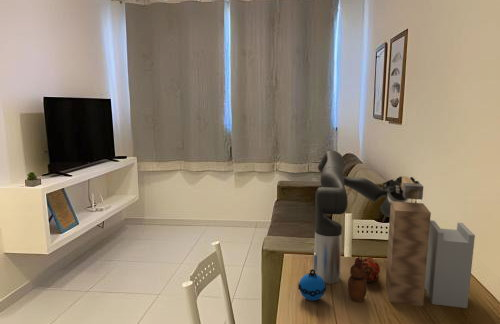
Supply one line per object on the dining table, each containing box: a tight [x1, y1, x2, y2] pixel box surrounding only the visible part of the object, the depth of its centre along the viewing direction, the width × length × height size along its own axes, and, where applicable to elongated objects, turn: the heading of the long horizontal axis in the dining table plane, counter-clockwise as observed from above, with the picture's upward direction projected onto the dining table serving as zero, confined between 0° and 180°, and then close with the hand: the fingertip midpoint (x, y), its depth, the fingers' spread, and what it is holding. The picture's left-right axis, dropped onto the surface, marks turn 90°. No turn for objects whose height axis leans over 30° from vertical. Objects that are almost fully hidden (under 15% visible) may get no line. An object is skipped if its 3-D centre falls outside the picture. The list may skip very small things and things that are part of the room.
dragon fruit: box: [362, 256, 381, 283], centre depth 132 cm, size 8×8×12 cm
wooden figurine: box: [347, 255, 367, 302], centre depth 118 cm, size 7×6×15 cm
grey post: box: [424, 220, 476, 309], centre depth 119 cm, size 10×12×24 cm
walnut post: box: [384, 201, 432, 307], centre depth 119 cm, size 10×11×30 cm
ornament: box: [297, 268, 327, 301], centre depth 118 cm, size 9×9×10 cm
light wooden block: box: [400, 176, 424, 200], centre depth 121 cm, size 5×20×4 cm, turn 166°
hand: (406, 179), depth 125 cm, fingers closed on light wooden block, 3 cm apart
